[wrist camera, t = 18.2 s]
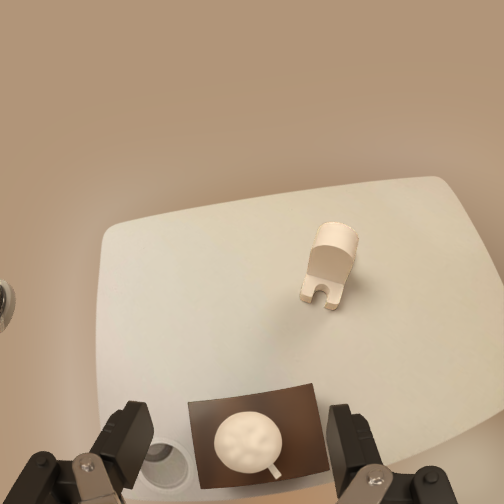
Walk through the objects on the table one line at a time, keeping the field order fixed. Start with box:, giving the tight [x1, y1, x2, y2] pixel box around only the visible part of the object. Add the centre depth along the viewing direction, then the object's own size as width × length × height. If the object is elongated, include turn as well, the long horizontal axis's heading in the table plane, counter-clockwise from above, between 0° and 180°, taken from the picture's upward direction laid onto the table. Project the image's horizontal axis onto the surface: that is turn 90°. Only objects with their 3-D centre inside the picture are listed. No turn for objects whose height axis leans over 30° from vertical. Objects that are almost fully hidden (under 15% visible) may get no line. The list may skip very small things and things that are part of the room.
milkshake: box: [214, 412, 282, 480], centre depth 21 cm, size 4×5×10 cm
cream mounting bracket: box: [300, 222, 359, 310], centre depth 39 cm, size 5×10×10 cm, turn 159°
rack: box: [188, 383, 330, 489], centre depth 29 cm, size 12×9×9 cm
